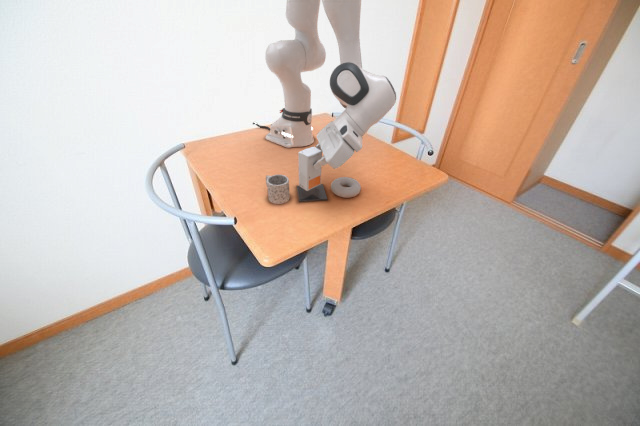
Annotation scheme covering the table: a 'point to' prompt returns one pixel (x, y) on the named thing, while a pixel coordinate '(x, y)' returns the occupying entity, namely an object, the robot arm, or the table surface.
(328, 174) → the table surface
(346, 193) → the donut
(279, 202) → the mug
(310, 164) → the cosmetic box
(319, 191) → the slate coaster
